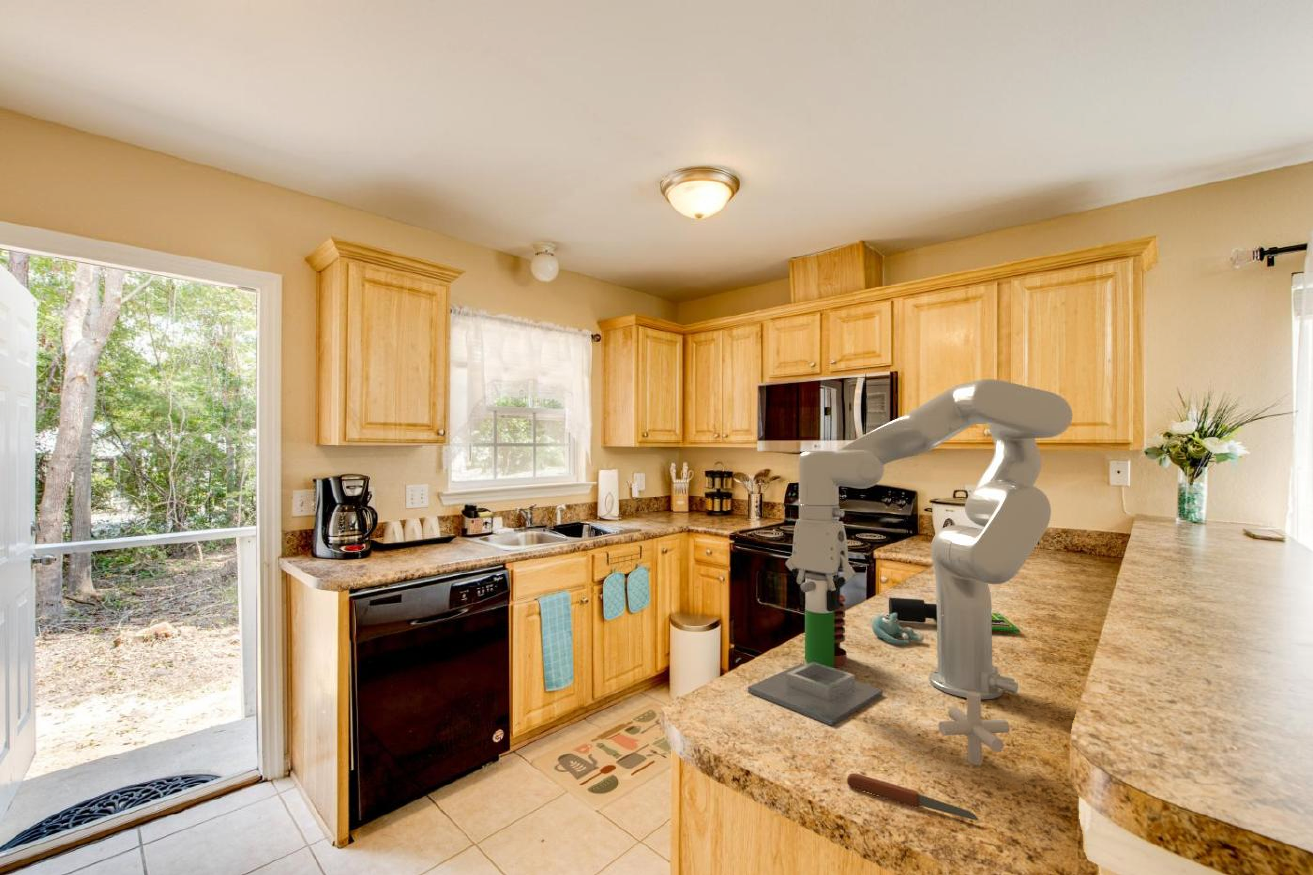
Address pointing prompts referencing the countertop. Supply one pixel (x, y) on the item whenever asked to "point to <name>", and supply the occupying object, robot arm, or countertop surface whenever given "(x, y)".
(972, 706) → the pipe connector
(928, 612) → the electronic board model
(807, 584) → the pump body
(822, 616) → the motor
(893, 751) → the countertop surface
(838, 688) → the mount plate
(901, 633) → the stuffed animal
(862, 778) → the kitchen knife
